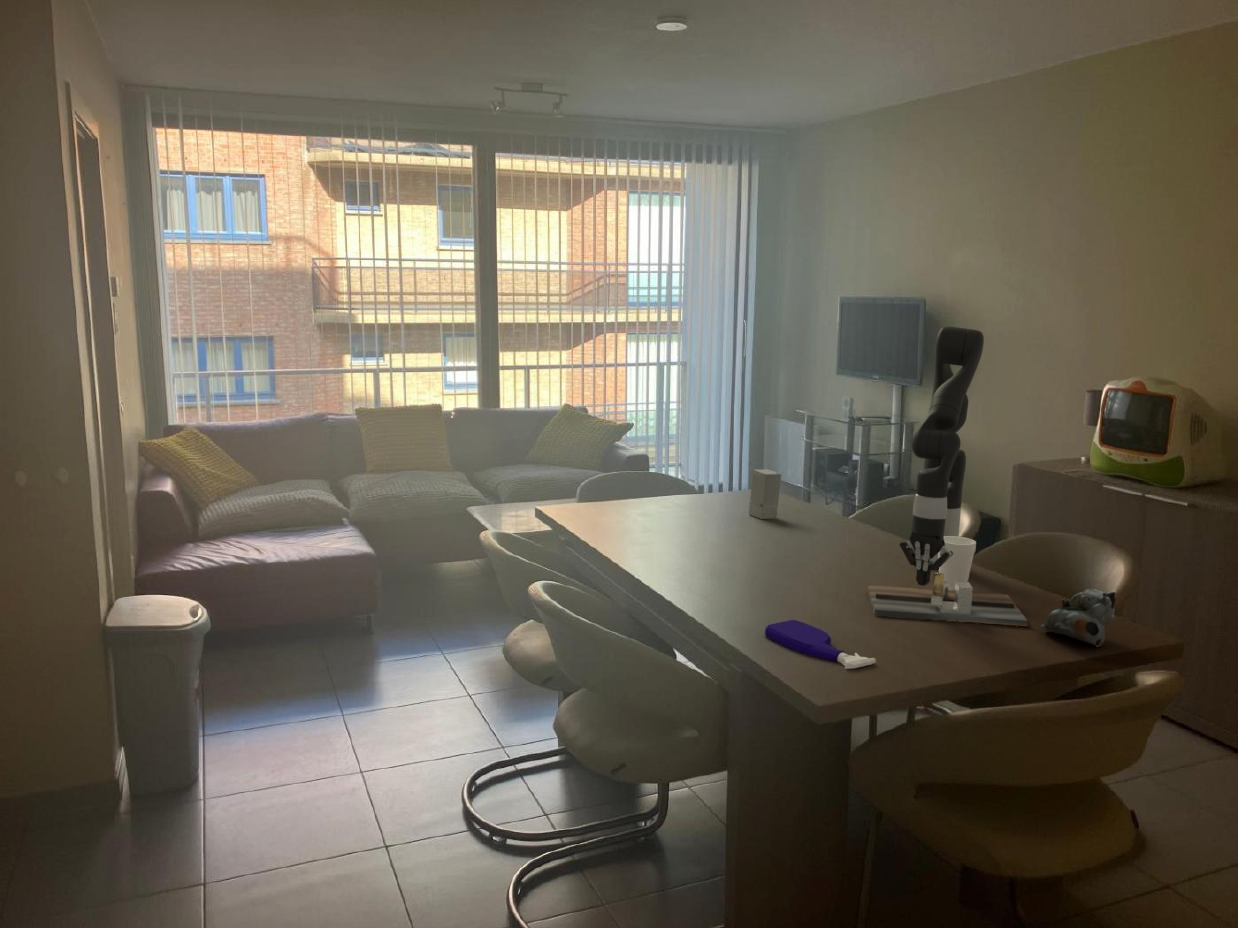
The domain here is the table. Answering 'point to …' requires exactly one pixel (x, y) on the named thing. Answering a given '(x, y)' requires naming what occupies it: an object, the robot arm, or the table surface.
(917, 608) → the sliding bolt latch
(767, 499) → the skincare box
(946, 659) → the table surface
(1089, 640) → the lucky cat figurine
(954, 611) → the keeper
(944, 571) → the foam cup
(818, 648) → the spray bottle
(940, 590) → the swing bar
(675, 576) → the table surface
